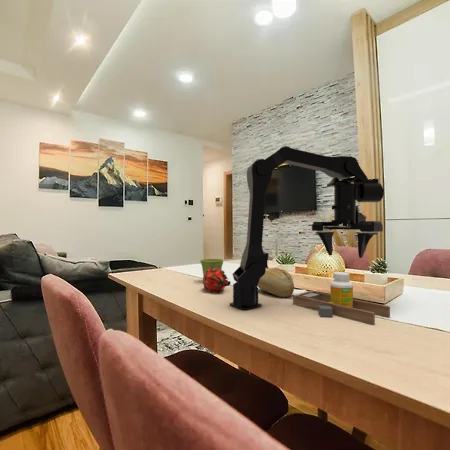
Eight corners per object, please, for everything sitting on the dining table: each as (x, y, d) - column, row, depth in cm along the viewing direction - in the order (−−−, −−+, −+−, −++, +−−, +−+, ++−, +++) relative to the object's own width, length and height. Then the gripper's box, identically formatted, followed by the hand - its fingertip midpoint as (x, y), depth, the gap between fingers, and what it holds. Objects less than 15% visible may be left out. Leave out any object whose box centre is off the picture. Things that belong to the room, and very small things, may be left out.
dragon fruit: (211, 291, 106) (223, 304, 95) (193, 279, 103) (203, 291, 92) (225, 271, 107) (238, 282, 96) (207, 259, 104) (219, 268, 93)
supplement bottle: (342, 315, 73) (342, 275, 73) (326, 309, 78) (325, 272, 78) (357, 312, 75) (357, 273, 75) (340, 306, 80) (340, 270, 80)
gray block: (332, 317, 71) (332, 308, 71) (320, 316, 71) (320, 308, 71) (329, 313, 74) (329, 305, 74) (318, 313, 74) (318, 305, 74)
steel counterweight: (309, 305, 81) (309, 297, 81) (301, 304, 83) (301, 295, 83) (319, 302, 84) (319, 294, 84) (312, 301, 86) (312, 292, 86)
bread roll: (272, 287, 105) (272, 265, 105) (302, 296, 92) (302, 270, 92) (249, 290, 100) (249, 267, 100) (278, 300, 87) (278, 273, 87)
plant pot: (202, 279, 120) (202, 258, 120) (225, 280, 119) (225, 258, 119) (197, 284, 111) (197, 261, 111) (222, 284, 110) (222, 261, 110)
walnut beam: (372, 324, 66) (372, 312, 66) (292, 304, 83) (292, 294, 83) (390, 316, 71) (390, 305, 71) (311, 298, 88) (311, 289, 88)
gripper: (391, 201, 83) (391, 257, 83) (330, 205, 97) (331, 252, 97) (372, 199, 76) (373, 260, 76) (310, 203, 90) (310, 254, 90)
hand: (345, 256), depth 85 cm, fingers open, 9 cm apart
